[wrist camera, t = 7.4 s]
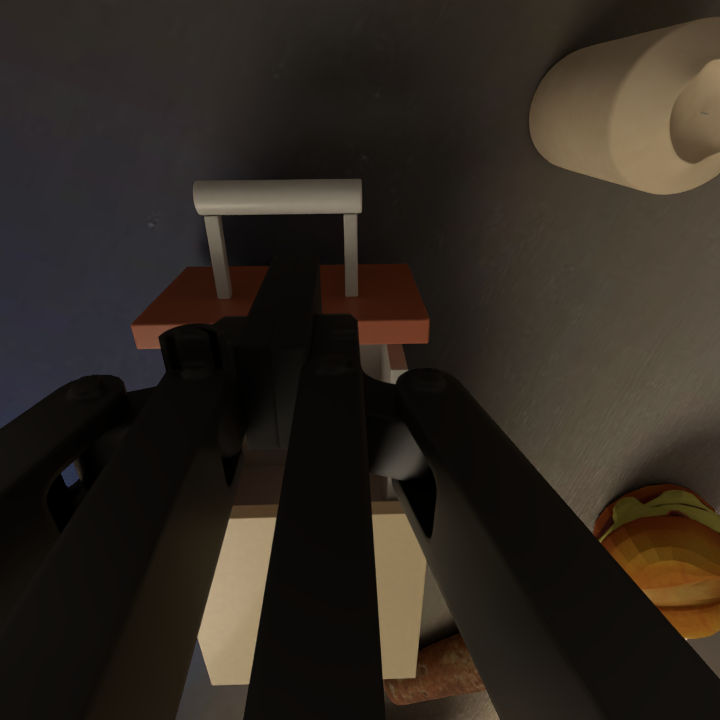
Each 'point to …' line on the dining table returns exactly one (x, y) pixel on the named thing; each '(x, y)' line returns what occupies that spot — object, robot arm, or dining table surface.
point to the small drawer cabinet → (248, 579)
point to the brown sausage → (437, 674)
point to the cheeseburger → (669, 553)
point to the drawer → (338, 295)
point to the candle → (636, 109)
